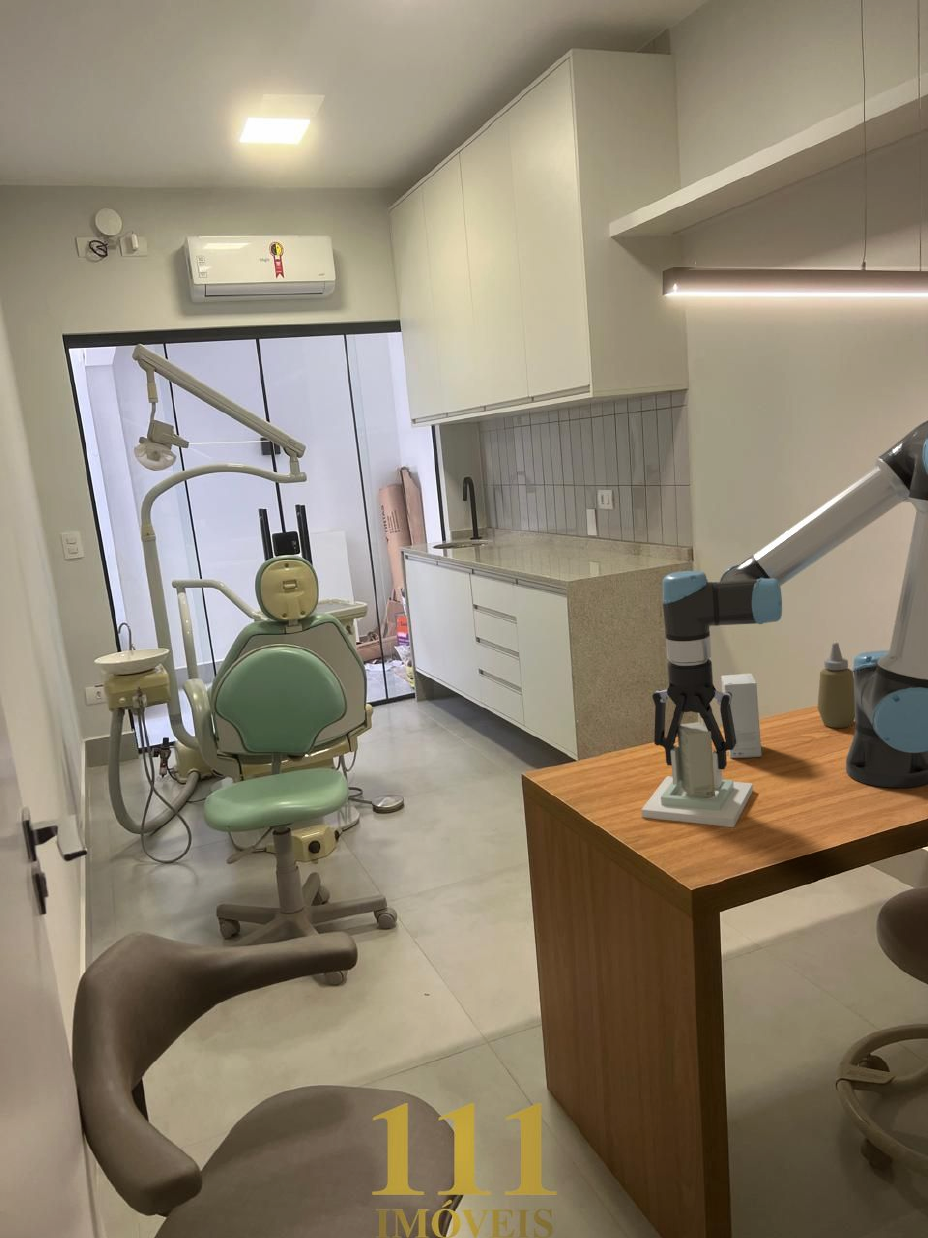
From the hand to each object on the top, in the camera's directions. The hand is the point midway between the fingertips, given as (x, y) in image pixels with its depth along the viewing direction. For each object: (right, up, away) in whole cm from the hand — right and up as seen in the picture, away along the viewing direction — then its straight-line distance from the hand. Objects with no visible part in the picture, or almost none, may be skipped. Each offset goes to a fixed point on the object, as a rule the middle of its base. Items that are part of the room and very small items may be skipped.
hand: (697, 783), depth 161 cm
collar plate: (0, -4, +1) cm, 4 cm away
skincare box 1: (0, -2, 0) cm, 2 cm away
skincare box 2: (+16, +2, +24) cm, 28 cm away
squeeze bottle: (+39, +7, +33) cm, 51 cm away
